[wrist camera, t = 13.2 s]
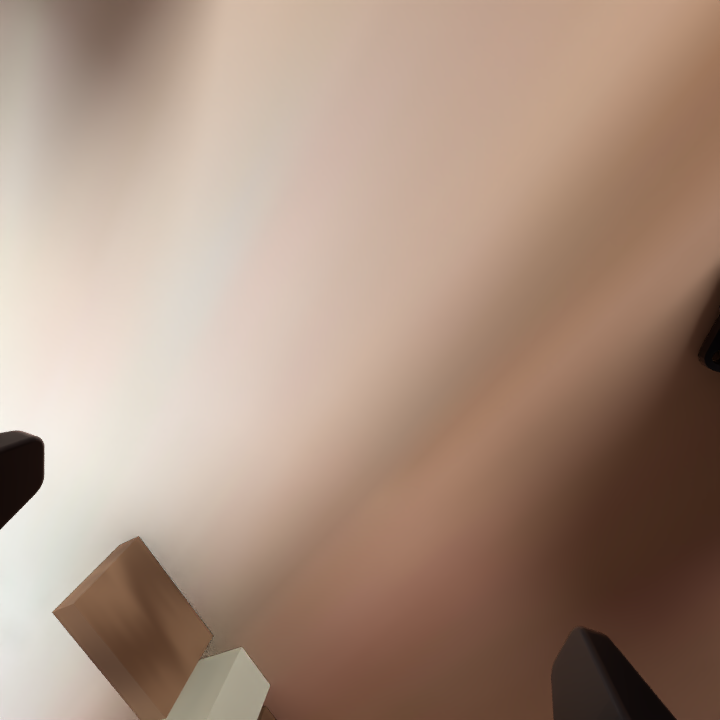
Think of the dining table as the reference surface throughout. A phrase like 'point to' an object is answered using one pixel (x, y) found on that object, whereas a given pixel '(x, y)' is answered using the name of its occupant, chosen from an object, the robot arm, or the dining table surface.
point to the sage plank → (222, 689)
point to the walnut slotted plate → (137, 630)
